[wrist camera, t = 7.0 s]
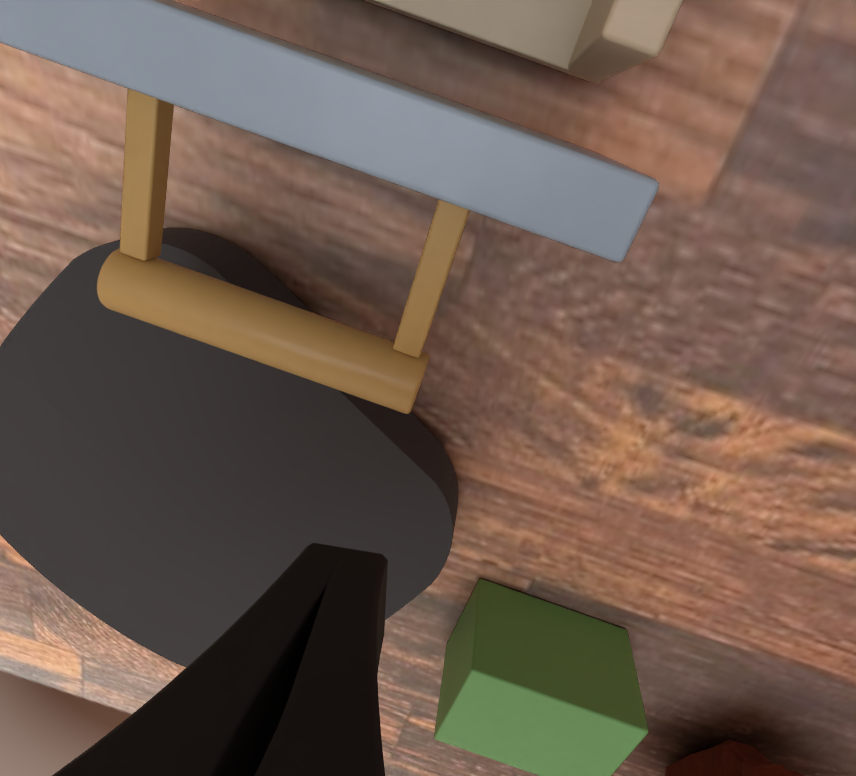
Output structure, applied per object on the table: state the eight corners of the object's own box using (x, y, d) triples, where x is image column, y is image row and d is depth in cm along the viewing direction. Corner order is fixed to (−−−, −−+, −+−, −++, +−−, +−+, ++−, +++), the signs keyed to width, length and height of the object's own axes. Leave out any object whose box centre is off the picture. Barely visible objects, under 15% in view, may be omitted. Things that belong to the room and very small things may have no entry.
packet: (628, 629, 21) (650, 732, 18) (583, 691, 23) (594, 796, 19) (479, 577, 21) (471, 670, 18) (446, 643, 23) (433, 739, 19)
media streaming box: (176, 166, 16) (108, 176, 13) (506, 497, 19) (504, 558, 17) (-24, 439, 22) (-100, 484, 19) (256, 658, 25) (224, 722, 22)
